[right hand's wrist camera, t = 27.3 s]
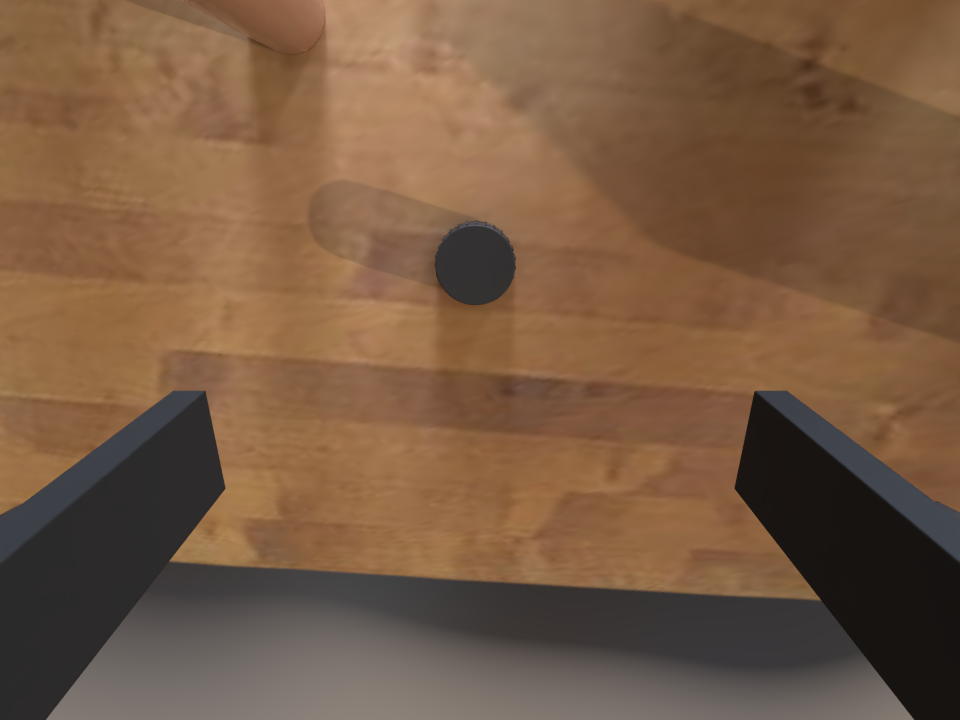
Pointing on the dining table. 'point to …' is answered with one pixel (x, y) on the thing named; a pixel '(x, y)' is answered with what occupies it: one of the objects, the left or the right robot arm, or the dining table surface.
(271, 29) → the jar
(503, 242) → the lid
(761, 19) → the dining table surface
